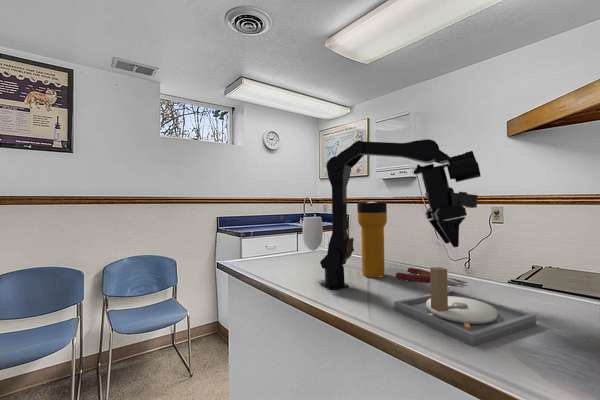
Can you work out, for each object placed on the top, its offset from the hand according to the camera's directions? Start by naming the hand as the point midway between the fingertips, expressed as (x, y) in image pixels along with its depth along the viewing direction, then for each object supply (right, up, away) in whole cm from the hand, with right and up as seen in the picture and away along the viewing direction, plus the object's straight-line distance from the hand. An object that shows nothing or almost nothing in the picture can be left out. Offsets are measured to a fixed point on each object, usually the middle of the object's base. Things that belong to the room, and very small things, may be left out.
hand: (451, 245), depth 77 cm
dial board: (-3, -15, -10) cm, 18 cm away
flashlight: (-14, -15, +27) cm, 34 cm away
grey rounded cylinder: (-35, -15, +28) cm, 47 cm away
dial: (-3, -13, -10) cm, 17 cm away
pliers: (+1, -15, +19) cm, 24 cm away
